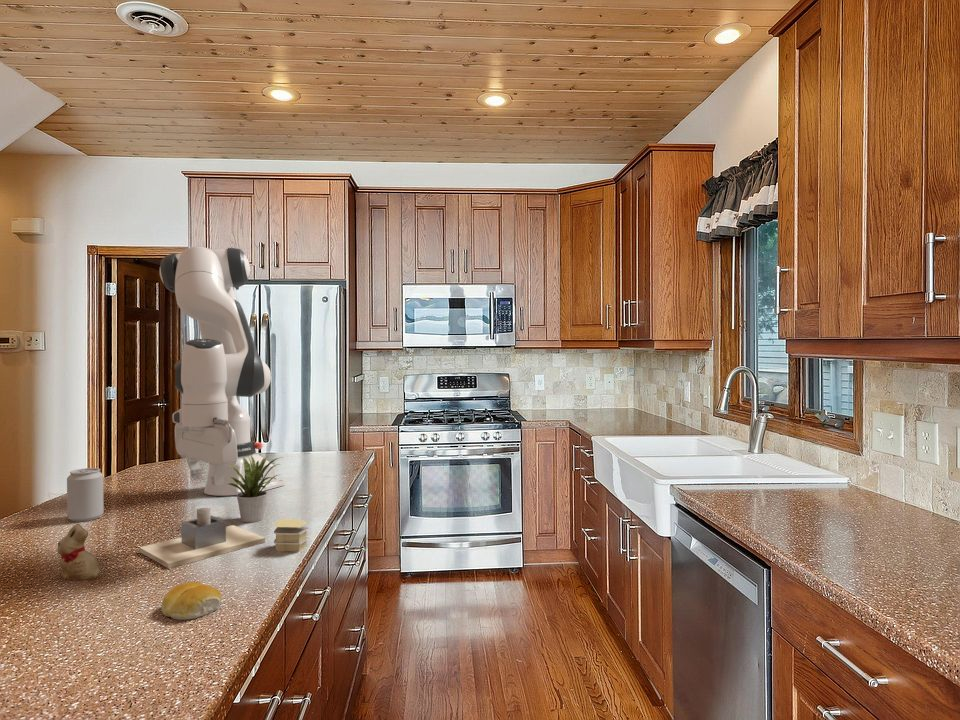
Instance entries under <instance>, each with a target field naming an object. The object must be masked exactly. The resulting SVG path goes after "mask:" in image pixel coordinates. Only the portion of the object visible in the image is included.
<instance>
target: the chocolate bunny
mask: <svg viewBox="0 0 960 720" xmlns="http://www.w3.org/2000/svg"><path fill="white" fill-rule="evenodd" d="M88 536H89V532H88V530H87V529H85V528H84V527H83V526H82V524H80V522H77V523H76V524H74V525H72V527H71V528H70V529H69V531H68V533H67V535H65V537H62V538H61V539H60V540H59V541H58V543H57V553H58V555H60V557H61V558H60V560H59V567H60V569H61V571H62V572H61V573H60V577H62V578H63V579H64V580H67V581H78V582H79V581H89V580H94V579H99V578H101V577H102V576H101V575H102V572H101V565H100V562H99V561H98V558H97V557H96V556H95V554H93V553H91V552H89V551H87V550H86V548H85V543H86V540H87V538H88Z"/></svg>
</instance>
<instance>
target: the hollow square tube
mask: <svg viewBox="0 0 960 720" xmlns="http://www.w3.org/2000/svg"><path fill="white" fill-rule="evenodd" d="M210 517H211V523H209V524H205V525H201V526H197V518H194V519H190V520H186V521H181V524H180V525H181V532H180V533H181V537H182V543H183V544H185V545H187V546H189V547H191V548H193V549H195V550H196V549H200V548H204V547H208V546H211V545H215V544H219V543H223V542H226V527H227V521H226V520H224V519H221V518H219V517H216V516H213V515H210Z"/></svg>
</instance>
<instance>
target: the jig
mask: <svg viewBox="0 0 960 720" xmlns="http://www.w3.org/2000/svg"><path fill="white" fill-rule="evenodd" d="M210 516H211V508H210V507H201V508H198V509H196V519H197V526H201V525H205V524H209V523H211V517H210ZM264 543H266V537H265V536H262V535H259V534H258V533H255V532H252V531H249V530H246V529H243V528H241V527H239V526H237V525H234V524H231V525H228V526H227V525H226V542H223V543H219V544H215V545H211V546H208V547H204V548H200V549H196V550H195V549H193V548H191V547H189V546H187V545H185V544H183V543H182V536H181V537H178V538H177V537H176V538H173V539H169V540H164V541H160V542H157V543H156V542H155V543H151V544H148V545H143V546H140V547H139V553H141V554H142V555H144V556H145V557H147V558H148V559H151V560H153V561H155V562H156V563H158V564H160V565H162V566H163V567H165V568H167V569H172V568H176V567H180V566H183V565H186V564H190V563H195V562H198V561H202V560H206V559H209V558H213V557H216V556H221V555H223V554H227V553H231V552H235V551H238V550H242V549H245V548H249V547H253V546H256V545H261V544H264Z"/></svg>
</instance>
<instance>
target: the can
mask: <svg viewBox="0 0 960 720" xmlns="http://www.w3.org/2000/svg"><path fill="white" fill-rule="evenodd" d="M69 474H70V475H68V476H67V477H66V508H67V509H66V515H67V516H66V518H67V519H69V520H70V521H72V522H76V523H81V522H88V521H94V520H97V519H99V518H100V517H101V516H103V514H104V507H105V506H104V474H103V473H102V472H101V468H98V467H86V468H77V469H74V470H71V471H70V472H69Z"/></svg>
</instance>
